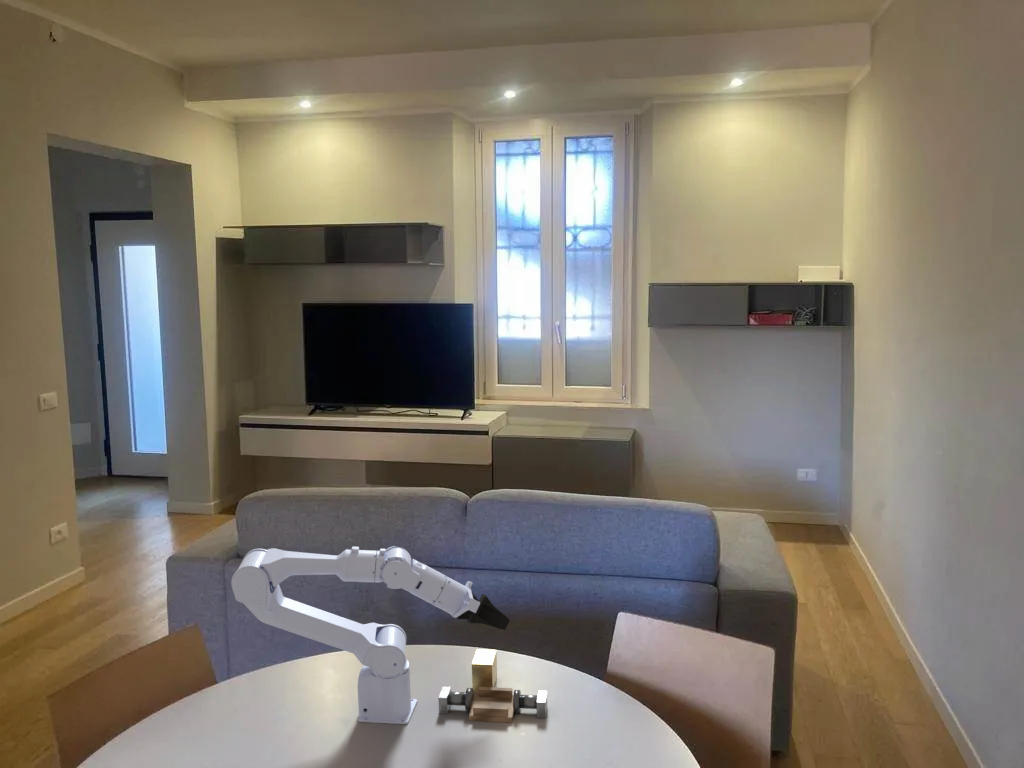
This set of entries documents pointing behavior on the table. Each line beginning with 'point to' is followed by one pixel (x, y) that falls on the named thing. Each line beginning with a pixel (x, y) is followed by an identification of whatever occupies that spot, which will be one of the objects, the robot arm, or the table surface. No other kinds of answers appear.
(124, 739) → the table surface
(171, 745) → the table surface
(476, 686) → the block
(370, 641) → the robot arm
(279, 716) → the table surface
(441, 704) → the shaft stand
